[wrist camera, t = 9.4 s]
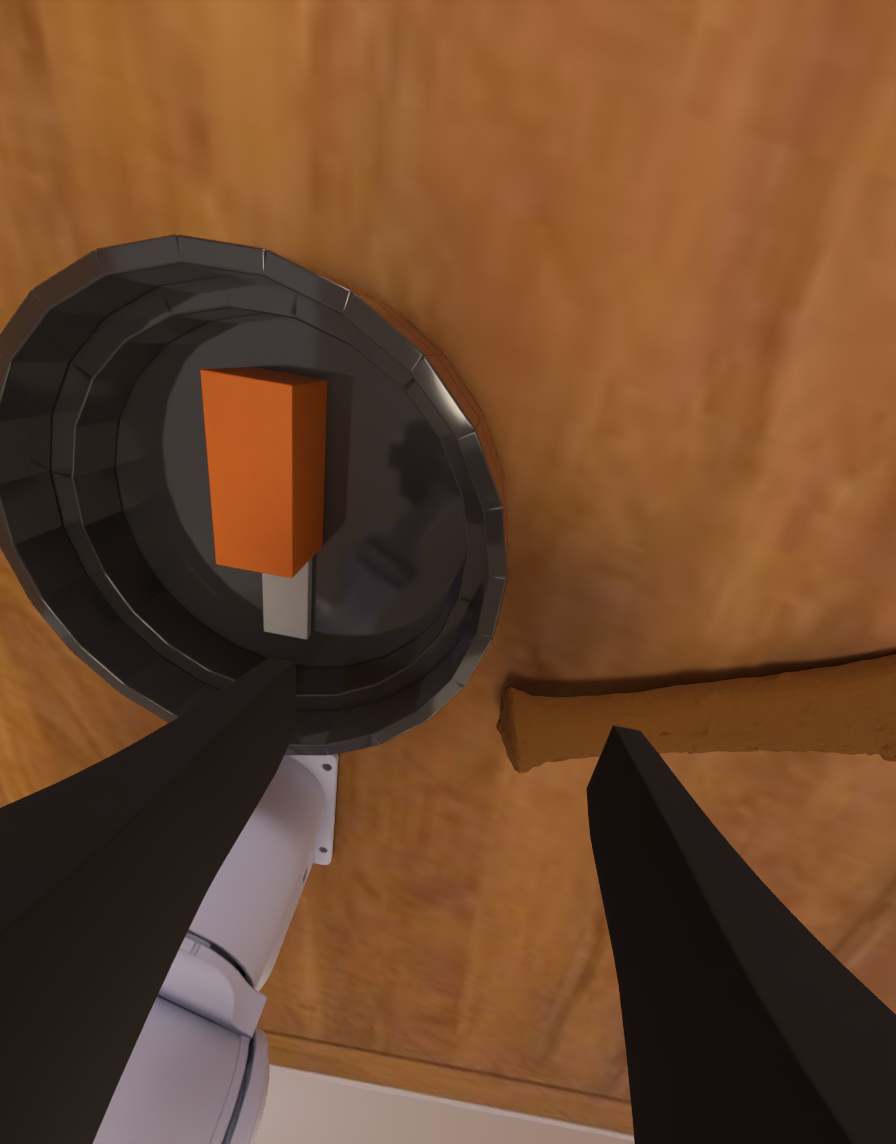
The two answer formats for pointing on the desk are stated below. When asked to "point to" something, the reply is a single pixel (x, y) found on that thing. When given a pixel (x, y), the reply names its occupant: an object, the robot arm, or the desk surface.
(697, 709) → the primitive tool
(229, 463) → the chisel
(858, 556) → the desk surface
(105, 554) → the bowl
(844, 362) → the desk surface
